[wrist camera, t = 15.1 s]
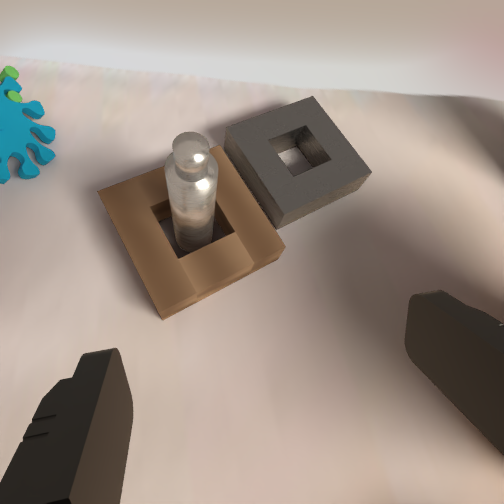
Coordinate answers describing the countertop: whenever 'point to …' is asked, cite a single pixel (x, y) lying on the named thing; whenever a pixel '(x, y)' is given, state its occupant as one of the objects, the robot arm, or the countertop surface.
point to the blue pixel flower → (21, 129)
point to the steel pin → (192, 190)
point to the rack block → (202, 260)
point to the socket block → (275, 171)
